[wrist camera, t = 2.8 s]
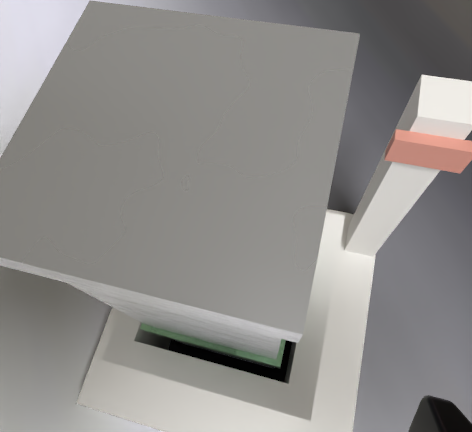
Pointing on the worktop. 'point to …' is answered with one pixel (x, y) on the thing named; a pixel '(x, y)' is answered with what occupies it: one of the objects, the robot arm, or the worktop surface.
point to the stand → (319, 310)
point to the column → (182, 172)
